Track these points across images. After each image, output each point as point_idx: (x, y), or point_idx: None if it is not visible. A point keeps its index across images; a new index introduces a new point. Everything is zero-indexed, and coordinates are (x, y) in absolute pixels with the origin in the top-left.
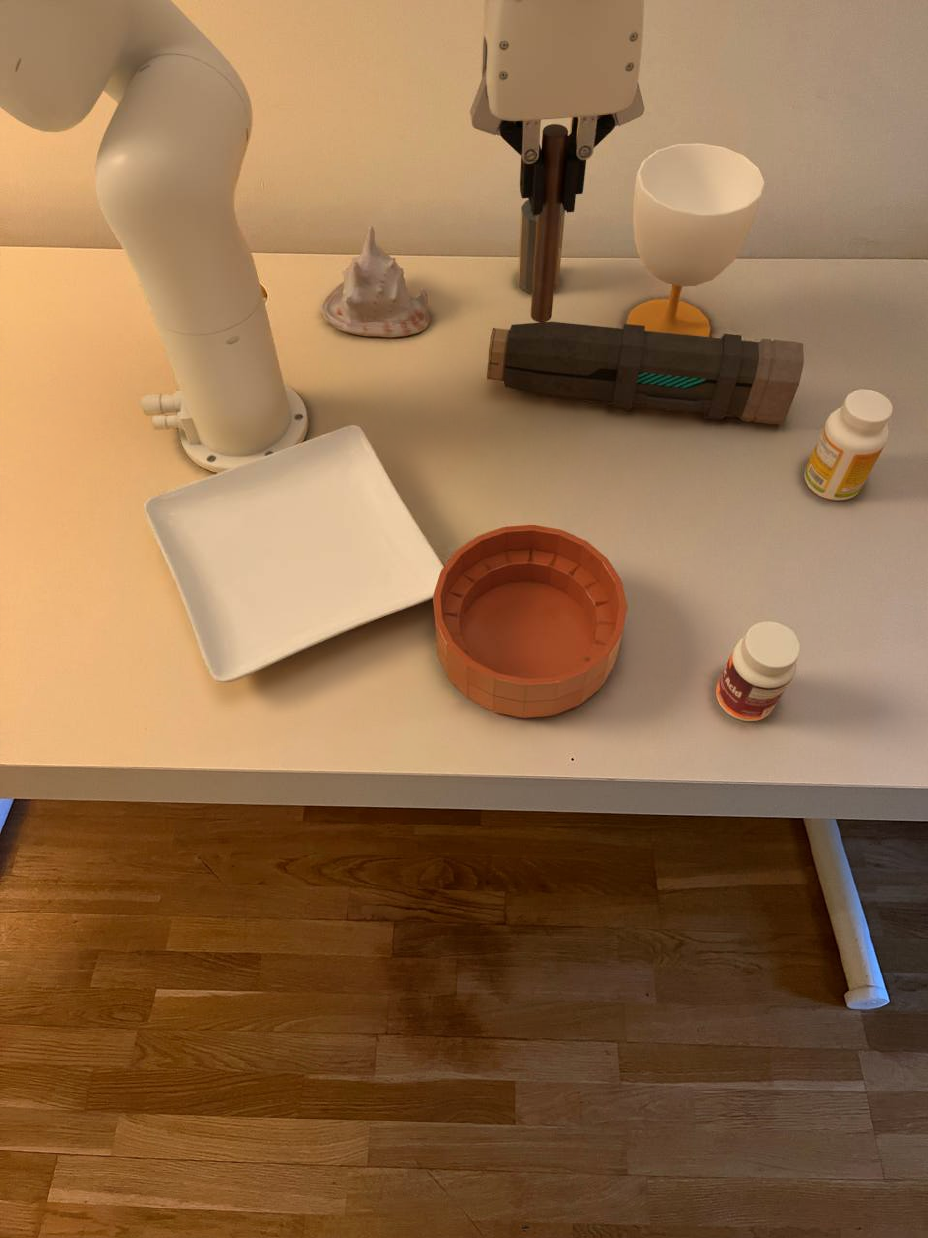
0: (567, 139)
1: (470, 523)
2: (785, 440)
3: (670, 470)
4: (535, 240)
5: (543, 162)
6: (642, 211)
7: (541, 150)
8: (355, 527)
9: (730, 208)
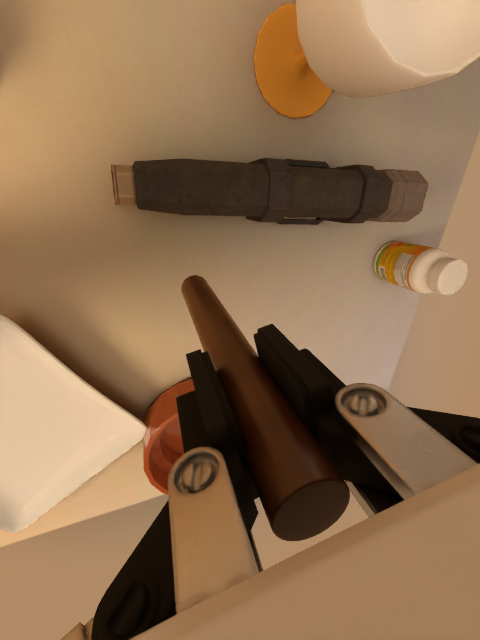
0: (328, 438)
1: (143, 351)
2: (369, 224)
3: (287, 270)
4: (199, 336)
5: (255, 491)
6: (333, 10)
7: (256, 509)
8: (52, 392)
9: None
